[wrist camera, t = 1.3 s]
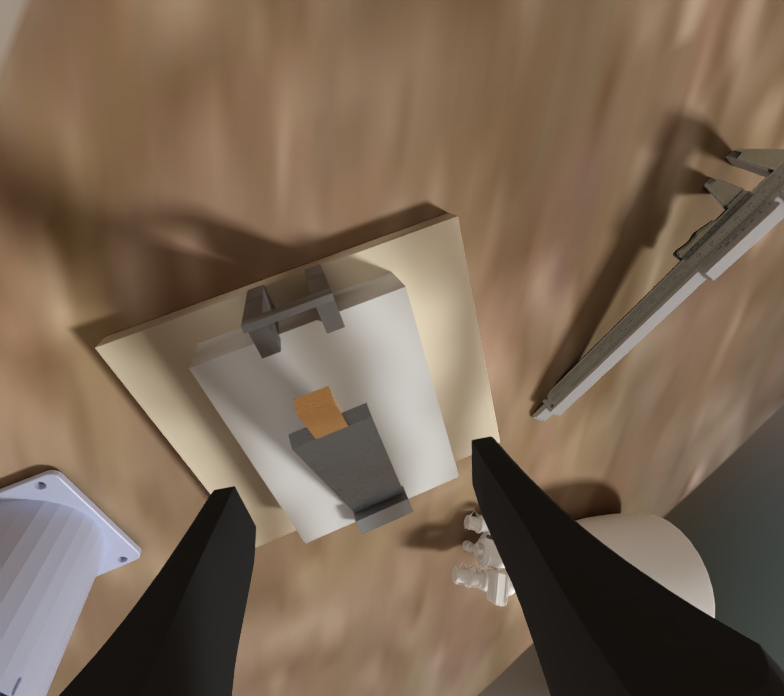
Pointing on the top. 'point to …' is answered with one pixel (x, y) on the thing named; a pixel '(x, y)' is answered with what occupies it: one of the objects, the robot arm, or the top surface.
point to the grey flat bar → (344, 450)
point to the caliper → (686, 269)
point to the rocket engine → (622, 535)
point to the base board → (206, 428)
